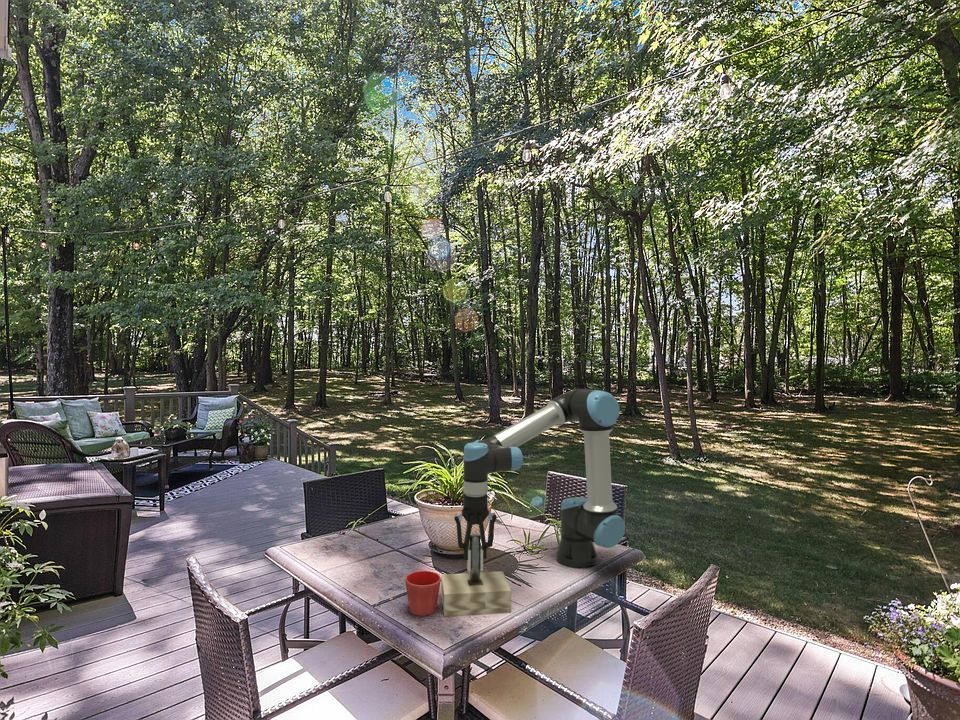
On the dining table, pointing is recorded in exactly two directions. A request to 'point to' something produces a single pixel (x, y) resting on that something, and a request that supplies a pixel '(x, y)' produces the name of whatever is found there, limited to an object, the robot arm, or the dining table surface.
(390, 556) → the dining table surface
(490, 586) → the block
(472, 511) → the robot arm
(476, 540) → the pin
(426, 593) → the flower pot
